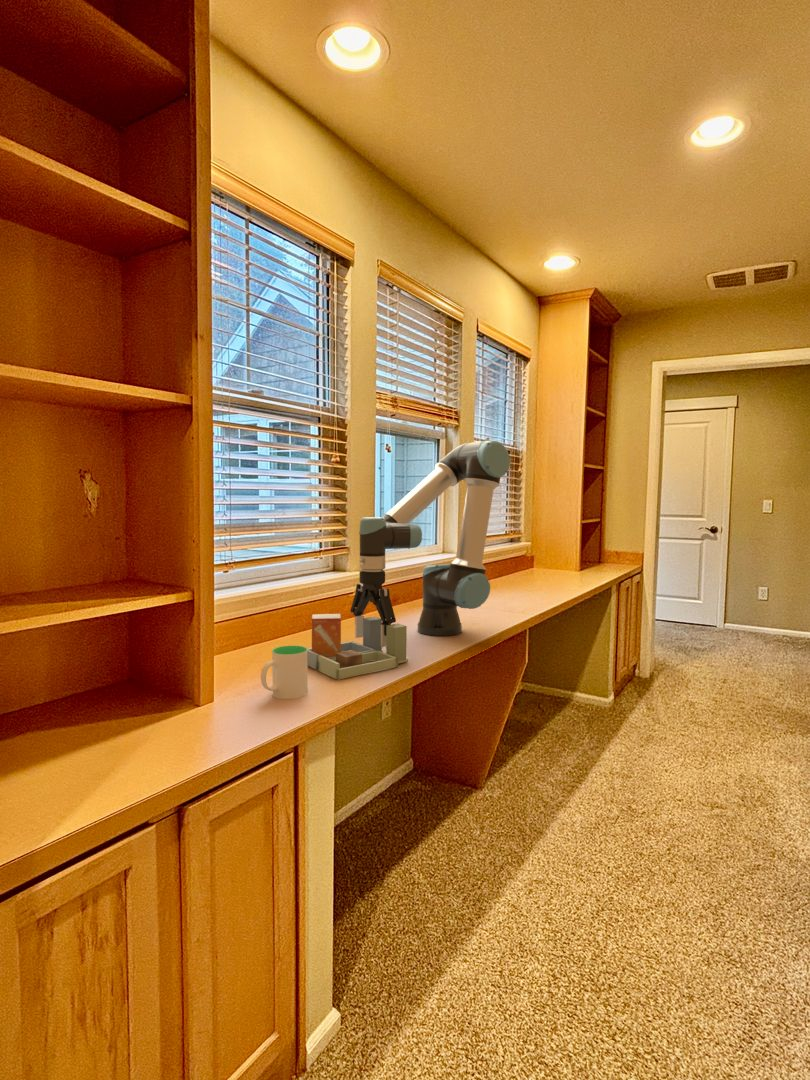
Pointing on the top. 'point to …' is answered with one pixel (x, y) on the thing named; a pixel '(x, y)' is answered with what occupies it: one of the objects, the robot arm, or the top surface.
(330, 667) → the tray
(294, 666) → the mug
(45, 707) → the top surface
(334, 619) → the small box
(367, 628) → the tray
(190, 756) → the top surface
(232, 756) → the top surface
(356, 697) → the top surface
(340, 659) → the walnut block
